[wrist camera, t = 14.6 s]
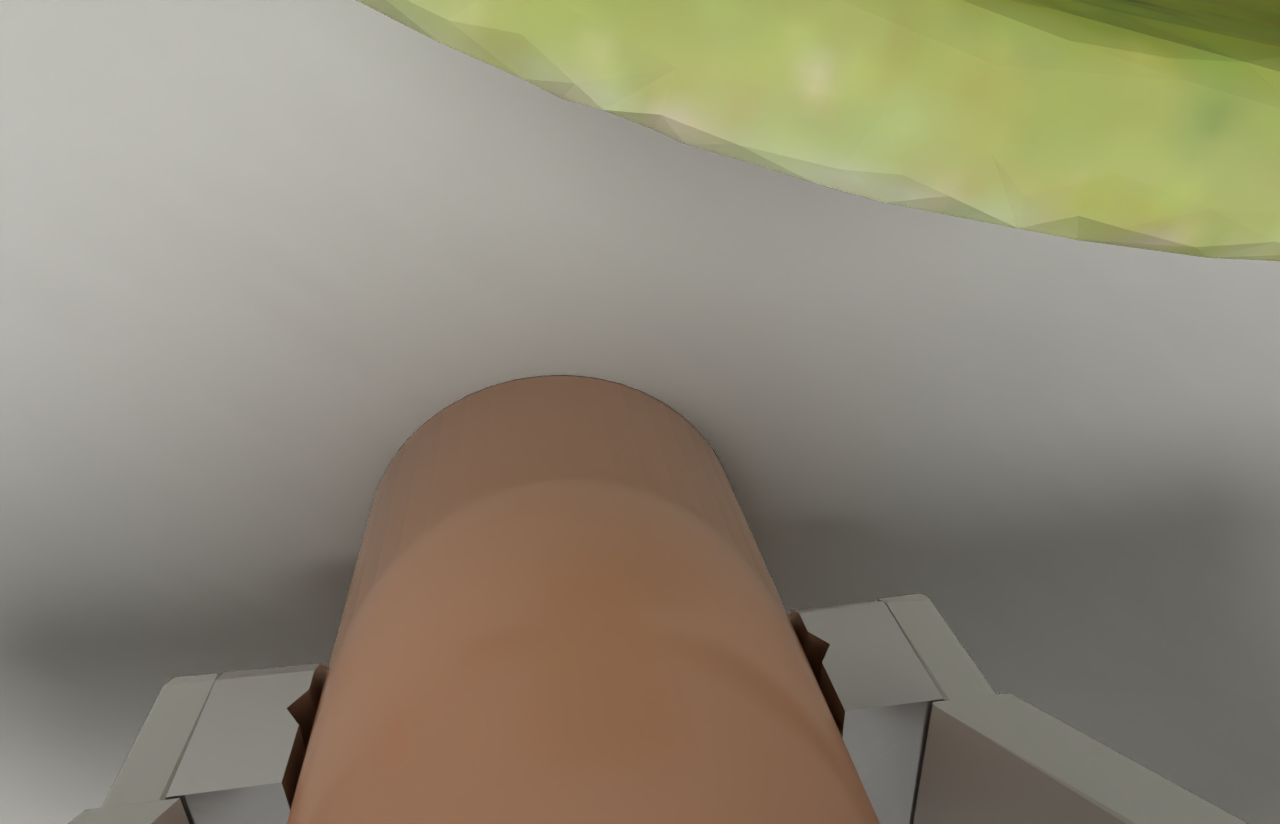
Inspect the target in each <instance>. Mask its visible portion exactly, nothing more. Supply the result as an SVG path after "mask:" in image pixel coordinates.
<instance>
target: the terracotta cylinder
mask: <svg viewBox="0 0 1280 824" xmlns="http://www.w3.org/2000/svg"><path fill="white" fill-rule="evenodd" d="M287 824H880V822H879V820H878V818H877V816H876V813H875V811H874V809H873V807H872V804H871V802H870V800H869V798H868V795H867V793H866V791H865V788H864V786H863V784H862V782H861V779H860V777H859V775H858V773H857V770H856V768H855V766H854V764H853V761H852V759H851V757H850V755H849V752H848V750H847V748H846V746H845V743H844V741H843V739H842V736H841V734H840V732H839V730H838V727H837V725H836V723H835V721H834V718H833V716H832V714H831V712H830V709H829V707H828V705H827V703H826V700H825V698H824V696H823V694H822V691H821V689H820V687H819V684H818V682H817V680H816V678H815V675H814V673H813V671H812V669H811V666H810V664H809V662H808V660H807V657H806V655H805V653H804V651H803V648H802V646H801V644H800V642H799V639H798V637H797V635H796V632H795V630H794V628H793V626H792V623H791V621H790V619H789V617H788V614H787V612H786V610H785V608H784V605H783V603H782V601H781V599H780V596H779V594H778V592H777V590H776V587H775V585H774V583H773V580H772V578H771V576H770V574H769V571H768V569H767V567H766V565H765V562H764V560H763V558H762V556H761V553H760V551H759V549H758V547H757V544H756V542H755V540H754V538H753V535H752V533H751V531H750V529H749V526H748V524H747V522H746V519H745V517H744V515H743V513H742V510H741V508H740V506H739V504H738V501H737V499H736V497H735V495H734V492H733V490H732V488H731V486H730V483H729V481H728V479H727V477H726V474H725V472H724V470H723V467H722V465H721V464H720V462H719V460H718V459H717V457H716V455H715V453H714V452H713V450H712V448H711V447H710V446H709V444H708V443H707V442H706V441H705V439H704V438H703V437H702V436H701V434H700V433H699V432H698V431H697V430H696V429H695V428H694V427H693V426H692V425H691V424H690V423H689V422H688V421H687V420H685V419H684V418H683V417H682V416H681V415H679V414H678V413H677V412H675V411H674V410H672V409H671V408H670V407H668V406H667V405H665V404H664V403H662V402H660V401H658V400H656V399H654V398H652V397H650V396H649V395H647V394H645V393H643V392H640V391H638V390H635V389H632V388H629V387H626V386H624V385H621V384H618V383H613V382H609V381H604V380H600V379H596V378H587V377H577V376H540V377H533V378H526V379H519V380H514V381H510V382H506V383H502V384H499V385H495V386H491V387H489V388H486V389H484V390H481V391H479V392H476V393H474V394H471V395H469V396H466V397H464V398H463V399H461V400H459V401H457V402H455V403H454V404H452V405H450V406H448V407H446V408H445V409H443V410H442V411H440V412H439V413H438V414H436V415H435V416H434V417H432V418H431V419H430V420H428V421H427V422H426V423H424V424H423V425H422V426H421V427H420V428H419V429H418V430H417V431H416V432H415V433H414V434H413V435H412V436H411V437H410V438H409V439H408V440H407V441H406V442H405V443H404V445H403V446H402V447H401V448H400V450H399V451H398V452H397V454H396V455H395V456H394V457H393V459H392V460H391V462H390V464H389V466H388V468H387V469H386V471H385V473H384V475H383V476H382V478H381V481H380V483H379V486H378V489H377V491H376V494H375V497H374V499H373V503H372V507H371V510H370V514H369V518H368V522H367V525H366V529H365V533H364V537H363V540H362V544H361V548H360V552H359V555H358V559H357V563H356V567H355V570H354V574H353V578H352V582H351V585H350V589H349V593H348V596H347V600H346V604H345V608H344V611H343V615H342V619H341V623H340V626H339V630H338V634H337V638H336V641H335V645H334V649H333V653H332V656H331V660H330V664H329V668H328V671H327V675H326V679H325V682H324V686H323V690H322V694H321V697H320V701H319V705H318V709H317V712H316V716H315V720H314V724H313V727H312V731H311V735H310V739H309V742H308V746H307V750H306V753H305V757H304V761H303V765H302V768H301V772H300V776H299V780H298V783H297V787H296V791H295V795H294V798H293V802H292V806H291V810H290V813H289V817H288V821H287Z"/></svg>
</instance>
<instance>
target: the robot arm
mask: <svg viewBox="0 0 1280 824" xmlns="http://www.w3.org/2000/svg"><path fill="white" fill-rule="evenodd" d="M789 619H790V621H791V623H792V626H793V628H794V630H795V632H796V635H797V637H798V639H799V642H800V644H801V646H802V648H803V651H804V653H805V655H806V657H807V660H808V662H809V664H810V666H811V669H812V671H813V673H814V675H815V678H816V680H817V682H818V684H819V687H820V689H821V691H822V694H823V696H824V698H825V700H826V703H827V705H828V707H829V709H830V712H831V714H832V716H833V718H834V721H835V723H836V725H837V727H838V730H839V732H840V734H841V736H842V739H843V741H844V743H845V746H846V748H847V750H848V752H849V755H850V757H851V759H852V761H853V764H854V766H855V768H856V770H857V773H858V775H859V777H860V779H861V782H862V784H863V786H864V788H865V791H866V793H867V795H868V798H869V800H870V802H871V804H872V807H873V809H874V811H875V813H876V816H877V818H878V820H879V822H880V824H1248V823H1246V822H1244V821H1242V820H1240V819H1239V818H1237V817H1235V816H1233V815H1231V814H1229V813H1228V812H1226V811H1224V810H1222V809H1220V808H1218V807H1217V806H1215V805H1213V804H1211V803H1209V802H1208V801H1206V800H1204V799H1202V798H1200V797H1198V796H1197V795H1195V794H1193V793H1191V792H1189V791H1187V790H1186V789H1184V788H1182V787H1180V786H1178V785H1177V784H1175V783H1173V782H1171V781H1169V780H1167V779H1166V778H1164V777H1162V776H1160V775H1158V774H1156V773H1155V772H1153V771H1151V770H1149V769H1147V768H1146V767H1144V766H1142V765H1140V764H1138V763H1136V762H1135V761H1133V760H1131V759H1129V758H1127V757H1125V756H1124V755H1122V754H1120V753H1118V752H1116V751H1115V750H1113V749H1111V748H1109V747H1107V746H1105V745H1104V744H1102V743H1100V742H1098V741H1096V740H1094V739H1093V738H1091V737H1089V736H1087V735H1085V734H1084V733H1082V732H1080V731H1078V730H1076V729H1074V728H1073V727H1071V726H1069V725H1067V724H1065V723H1063V722H1062V721H1060V720H1058V719H1056V718H1054V717H1053V716H1051V715H1049V714H1047V713H1045V712H1043V711H1042V710H1040V709H1038V708H1036V707H1034V706H1032V705H1031V704H1029V703H1027V702H1025V701H1023V700H1022V699H1020V698H1018V697H1016V696H1014V695H1012V694H1011V693H1005V694H996V693H995V692H994V690H993V689H992V687H991V686H990V684H989V683H988V682H987V680H986V679H985V677H984V676H983V674H982V673H981V672H980V670H979V669H978V667H977V666H976V665H975V663H974V662H973V660H972V659H971V657H970V656H969V655H968V653H967V652H966V650H965V649H964V647H963V646H962V645H961V643H960V642H959V640H958V639H957V637H956V636H955V635H954V633H953V632H952V630H951V629H950V627H949V626H948V625H947V623H946V622H945V620H944V619H943V617H942V616H941V615H940V613H939V612H938V610H937V609H936V608H935V606H934V605H933V603H932V602H931V600H930V599H929V598H928V597H926V596H925V595H923V594H921V593H919V594H911V595H904V596H896V597H889V598H881V599H878V600H877V601H865V602H857V603H848V604H840V605H831V606H823V607H815V608H806V609H798V610H792V611H791V614H790V617H789ZM327 671H328V669H327V667H325V666H324V665H322V664H321V663H317V664H306V665H295V666H284V667H273V668H262V669H251V670H240V671H229V672H224V673H216V674H205V675H194V676H183V677H174V678H173V679H171V680H170V681H169V682H168V683H166V684H165V685H164V686H163V687H162V688H161V690H160V692H159V694H158V696H157V698H156V700H155V702H154V704H153V706H152V708H151V710H150V712H149V714H148V716H147V718H146V720H145V722H144V724H143V726H142V728H141V730H140V732H139V734H138V736H137V738H136V740H135V742H134V744H133V746H132V748H131V750H130V752H129V754H128V756H127V758H126V760H125V762H124V764H123V766H122V768H121V770H120V772H119V774H118V776H117V778H116V780H115V782H114V784H113V785H112V787H111V789H110V791H109V793H108V795H107V797H106V799H105V801H104V803H103V805H102V807H101V808H96V809H89V810H84V811H83V812H82V813H81V814H79V815H78V816H77V817H76V818H74V819H73V820H72V821H71V822H69V823H68V824H287V821H288V817H289V813H290V810H291V806H292V802H293V798H294V795H295V791H296V787H297V783H298V780H299V776H300V772H301V768H302V765H303V761H304V757H305V753H306V750H307V746H308V742H309V739H310V735H311V731H312V727H313V724H314V720H315V716H316V712H317V709H318V705H319V701H320V697H321V694H322V690H323V686H324V682H325V679H326V675H327Z"/></svg>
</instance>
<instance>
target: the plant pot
mask: <svg viewBox="0 0 1280 824" xmlns="http://www.w3.org/2000/svg"><path fill="white" fill-rule="evenodd" d="M357 1H359V2H361V3H363V4H365V5H367V6H369V7H371V8H373V9H375V10H377V11H379V12H381V13H383V14H384V15H386V16H388V17H390V18H392V19H394V20H396V21H398V22H400V23H402V24H404V25H406V26H408V27H410V28H412V29H414V30H416V31H418V32H420V33H422V34H424V35H426V36H428V37H430V38H432V39H434V40H436V41H437V42H440V43H442V44H444V45H447V46H449V47H451V48H453V49H456V50H458V51H460V52H463V53H465V54H467V55H469V56H472V57H474V58H476V59H479V60H481V61H483V62H485V63H488V64H490V65H492V66H495V67H497V68H499V69H501V70H504V71H506V72H508V73H511V74H513V75H515V76H518V77H520V78H522V79H524V80H526V81H528V82H530V83H532V84H534V85H536V86H538V87H540V88H542V89H544V90H546V91H548V92H550V93H552V94H554V95H556V96H558V97H560V98H562V99H566V100H569V101H573V102H577V103H580V104H584V105H587V106H591V107H595V108H598V109H602V110H605V111H607V112H610V113H613V114H615V115H618V116H620V117H623V118H625V119H628V120H631V121H633V122H636V123H638V124H641V125H643V126H646V127H648V128H651V129H654V130H656V131H658V132H660V133H662V134H665V135H667V136H669V137H671V138H673V139H676V140H678V141H680V142H682V143H685V144H688V145H691V146H695V147H698V148H702V149H705V150H709V151H712V152H716V153H719V154H723V155H726V156H730V157H733V158H736V159H740V160H743V161H747V162H750V163H753V164H757V165H760V166H763V167H766V168H769V169H772V170H775V171H778V172H782V173H785V174H788V175H791V176H794V177H797V178H800V179H803V180H807V181H810V182H813V183H816V184H820V185H823V186H827V187H830V188H834V189H837V190H841V191H844V192H848V193H852V194H855V195H859V196H862V197H866V198H869V199H873V200H877V201H880V202H884V203H889V204H894V205H899V206H905V207H910V208H915V209H920V210H926V211H931V212H936V213H941V214H947V215H952V216H957V217H962V218H967V219H972V220H977V221H983V222H988V223H993V224H998V225H1003V226H1008V227H1013V228H1019V229H1024V230H1029V231H1034V232H1040V233H1045V234H1050V235H1055V236H1060V237H1066V238H1071V239H1076V240H1083V241H1090V242H1098V243H1105V244H1112V245H1120V246H1127V247H1134V248H1142V249H1149V250H1156V251H1164V252H1171V253H1179V254H1186V255H1193V256H1201V257H1208V258H1227V259H1249V260H1270V261H1280V0H357Z"/></svg>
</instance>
